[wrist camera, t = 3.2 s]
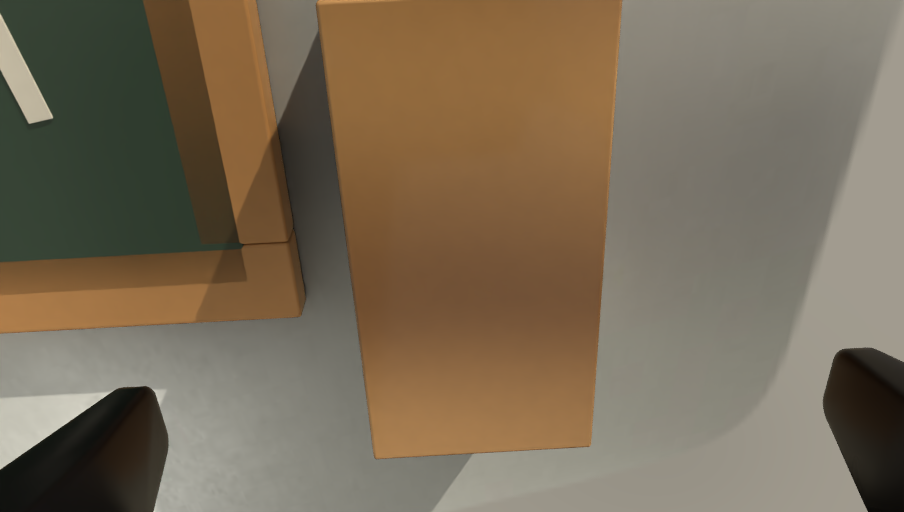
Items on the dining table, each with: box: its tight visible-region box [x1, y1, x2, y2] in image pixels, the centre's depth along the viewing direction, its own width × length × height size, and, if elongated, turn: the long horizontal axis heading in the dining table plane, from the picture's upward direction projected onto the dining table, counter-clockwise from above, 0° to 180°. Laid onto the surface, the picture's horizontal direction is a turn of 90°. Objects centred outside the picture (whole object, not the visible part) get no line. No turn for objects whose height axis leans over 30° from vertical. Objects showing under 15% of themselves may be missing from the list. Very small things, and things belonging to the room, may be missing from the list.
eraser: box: [316, 0, 622, 459], centre depth 14 cm, size 9×4×4 cm, turn 2°
